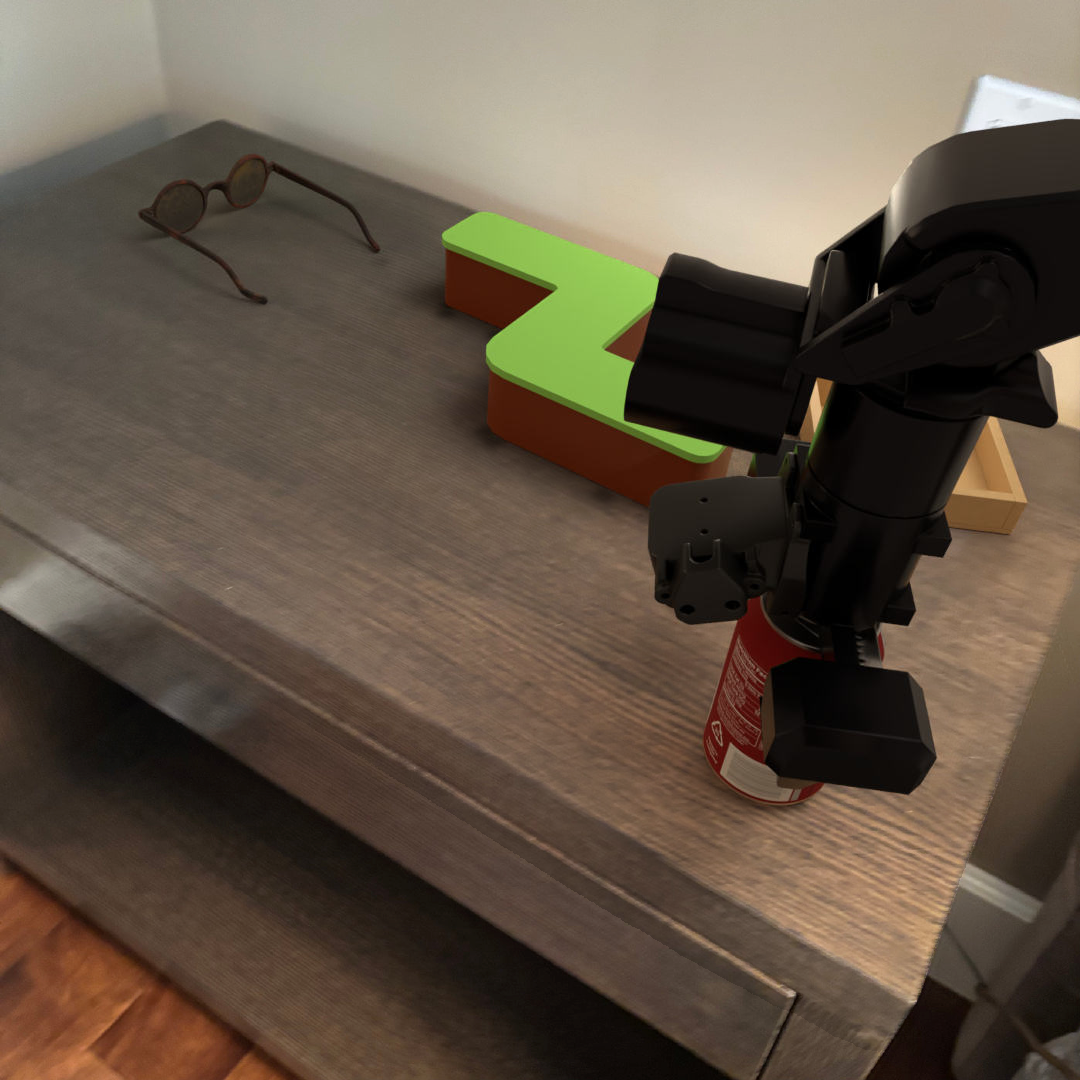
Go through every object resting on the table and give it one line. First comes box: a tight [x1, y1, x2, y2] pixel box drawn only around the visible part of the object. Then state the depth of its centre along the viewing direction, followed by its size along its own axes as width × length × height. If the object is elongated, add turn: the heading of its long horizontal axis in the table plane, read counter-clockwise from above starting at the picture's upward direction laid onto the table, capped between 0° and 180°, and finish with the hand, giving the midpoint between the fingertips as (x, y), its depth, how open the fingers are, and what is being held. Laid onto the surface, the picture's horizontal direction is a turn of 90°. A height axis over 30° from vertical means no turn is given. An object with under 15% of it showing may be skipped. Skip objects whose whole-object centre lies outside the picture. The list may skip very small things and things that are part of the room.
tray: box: [799, 378, 1028, 535], centre depth 73 cm, size 14×13×3 cm
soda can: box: [702, 591, 886, 807], centre depth 50 cm, size 7×7×12 cm
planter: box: [441, 211, 734, 508], centre depth 76 cm, size 30×18×6 cm, turn 57°
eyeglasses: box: [137, 153, 381, 304], centre depth 88 cm, size 15×15×5 cm
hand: (781, 707), depth 52 cm, fingers open, 9 cm apart
